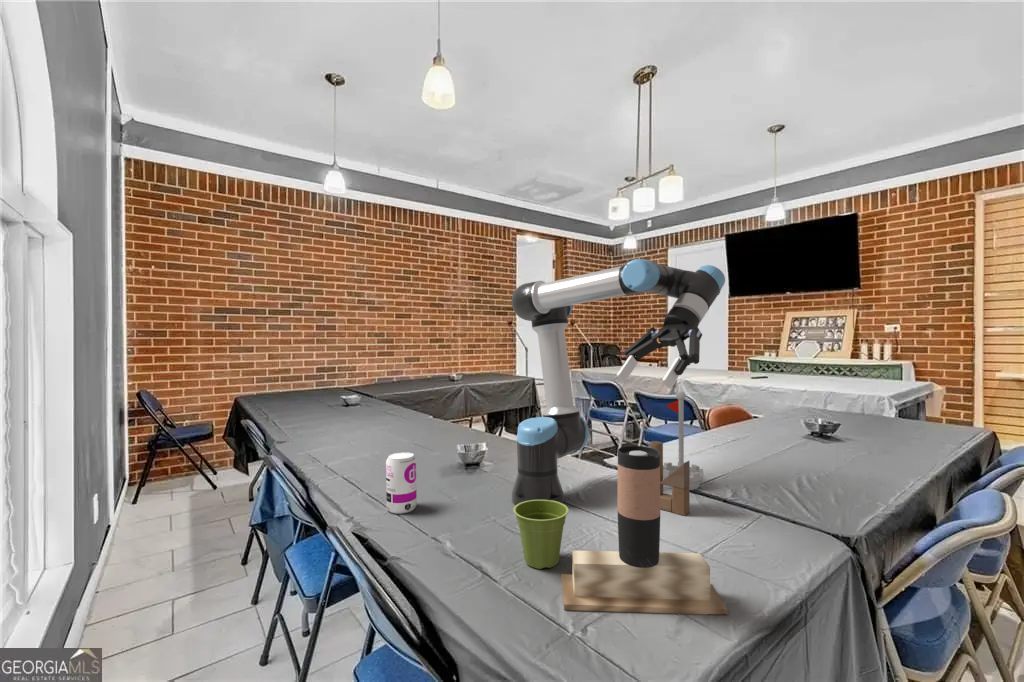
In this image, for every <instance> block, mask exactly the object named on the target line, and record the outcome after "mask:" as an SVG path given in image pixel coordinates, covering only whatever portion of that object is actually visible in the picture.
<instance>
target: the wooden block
mask: <svg viewBox="0 0 1024 682" xmlns="http://www.w3.org/2000/svg"><path fill="white" fill-rule="evenodd" d="M649 447H650V448H654V449H656V450H658V451H659V452H660V510H663V511H666V512H670V513H673V514H676V515H679V514H680V516H686V515H688V514H689V513H690V499H691V498H690V491H691V490H689V486H690V467H691V466H690V465H691V464H690V463H691V461H690V460H688V461H686V462H685V461H684V464H682V465H681V466H680V467H679V468H677V469H676V470H675V471H674V472H672V473H671V474H670V475H669V476H668V477H666V478H665V479H664V480H663V465H664V443H663V442H661V441H655V440H652V441H650V442H649ZM666 485H668V486H672V488H671V490H672V491H671V494H669V493H665V492H664V486H666Z"/></svg>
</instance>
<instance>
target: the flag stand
mask: <svg viewBox="0 0 1024 682" xmlns="http://www.w3.org/2000/svg"><path fill="white" fill-rule="evenodd" d="M675 394H676V395H675V397H676V399H677V400H676V401H673V402H671V403H668V404H666V405H665V406H666V407H667V408H669V409H671V410H672V411H673V412H675V413H676V414H678V461H677V465H673V463H672V462H671V461H670V462H663V480H664V479H665V478H666V477H668V476H669V475H670V474H671V473H672V472H674V471H675V470H676V469H677V468H679V467H680V466H681V465H682V464H684V463H685V461H684V459H685V458H684V457H685V455H684V454H685V453H684V452H685V451H684V450H685V446H684V444H685V443H684V442H685V440H684V439H685V438H684V436H685V435H684V434H685V433H684V432H685V431H684V426H685V425H684V423H685V422H684V421H685V420H684V419H685V418H684V417H685V416H684V411H685V410H684V409H685V408H684V407H685V405H684V404H685V403H684V400H685V399H686V398H687V395H686V392H685V391H682V390H681V391H678V392H677V393H675ZM703 479H704V468H700V465H696V464H691V466H690V486H689V491H694V489H695V490H697V489H696V488H698V487H699V486H700V487H701V482H700V481H702V480H703ZM665 486H666V487H667V486H668V485H665ZM670 487H671V488H670ZM700 487H699V488H700ZM667 488H670V489H672V486H668V487H667ZM699 488H698V489H699Z"/></svg>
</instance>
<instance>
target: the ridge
mask: <svg viewBox="0 0 1024 682" xmlns="http://www.w3.org/2000/svg"><path fill="white" fill-rule="evenodd" d="M571 561H572V563H571V564H572V565H571V566H572V574H570V573H566V574H565V573H561V588H562V589H561V590H562V600H563V610H564V611H582V612H583V611H585V612H587V611H588V612H591V611H592V612H616V613H618V612H619V613H620V612H621V613H622V612H623V613H646V614H647V613H650V614H651V613H652V614H653V613H654V614H676V615H677V614H681V615H683V614H684V615H708V614H726V615H725V616H728V608H727V606H726V605H725V604H724V602H723V600H722V598H720V596H719V595H718V593H717V592H716V590H715V589H714V588H713V586H712V584H711V566H710V565H709V563H708V562H707V560H706V559H705V558H704V557H703V555H702V554H701V553H699V552H665V551H664V552H663V551H662V552H660V551H659V562H658V564H657V565H655V566H653V567H649V568H639V567H634V566H630V565H628V564H626V563H624V562H623V561H622V560H621V559H620V557H619V550H618V551H615V550H614V551H612V550H577V549H575V550H572V560H571Z"/></svg>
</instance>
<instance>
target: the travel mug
mask: <svg viewBox="0 0 1024 682" xmlns="http://www.w3.org/2000/svg"><path fill="white" fill-rule="evenodd" d="M616 507H617V534H618V536H617V537H618V539H617V540H618V551H619V557H620V559H621V560H622V561H623V562H624V563H626V564H628V565H630V566H634V567H639V568H649V567H653V566H655V565H657V564H658V562H659V552H660V544H661V543H660V540H661V509H660V452H659V451H658V450H656V449H654V448H650V446H642V445H627V446H626V445H625V446H622V447H619V448H618V449H617V505H616Z"/></svg>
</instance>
